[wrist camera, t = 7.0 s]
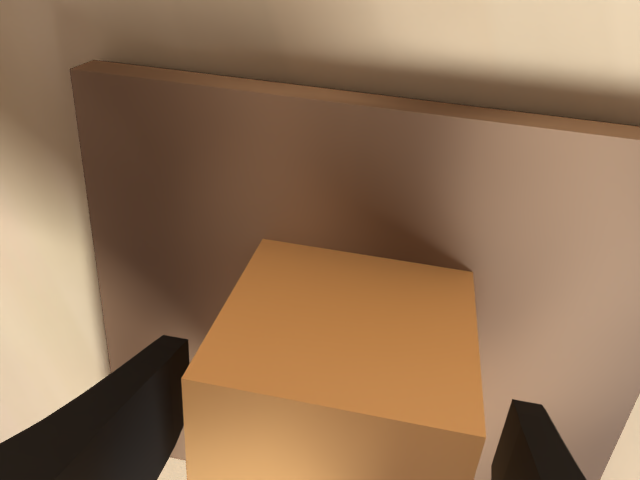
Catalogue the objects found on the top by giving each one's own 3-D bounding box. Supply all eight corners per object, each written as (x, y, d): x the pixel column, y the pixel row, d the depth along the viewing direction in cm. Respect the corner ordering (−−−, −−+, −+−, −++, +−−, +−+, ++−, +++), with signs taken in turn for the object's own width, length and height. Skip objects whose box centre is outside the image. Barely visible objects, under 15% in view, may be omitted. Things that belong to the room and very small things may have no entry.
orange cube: (258, 392, 16) (192, 559, 12) (262, 238, 14) (181, 378, 10) (436, 427, 16) (432, 616, 11) (473, 272, 13) (486, 437, 9)
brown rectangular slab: (135, 423, 20) (54, 554, 16) (93, 60, 14) (-54, 116, 10) (565, 512, 18) (600, 686, 14) (727, 137, 12) (872, 246, 8)
